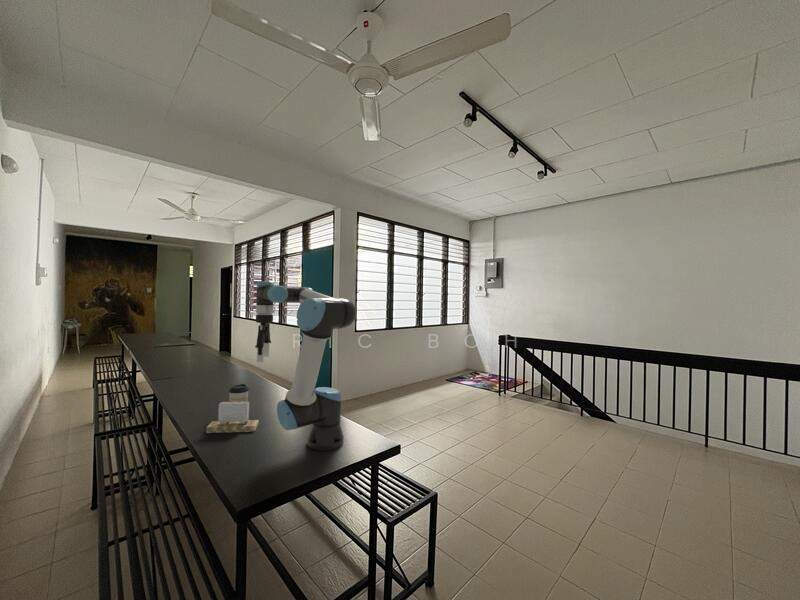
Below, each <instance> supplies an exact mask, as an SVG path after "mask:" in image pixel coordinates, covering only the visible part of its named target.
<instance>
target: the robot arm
mask: <svg viewBox="0 0 800 600" xmlns="http://www.w3.org/2000/svg"><path fill="white" fill-rule="evenodd" d="M255 303H256V305H255V307H254V309H255V313H256V315H255V323H257V324H260V325H258V330H257V338H256V345H255V348H256V350H257V351H256V363H264V360H265V358H266V357H270V344H271V343H272V340H271V331H270V329H271V328H270V327H271V326H270V325H271V323H273V322H274V315H273V314H274V306H275V305H274V303H276V304H281V303H290V304H291V303H294V304H295V303H298V304H300V305H299V307H298V309H297V311H296V325H297V326H298V328H299V329H300V333H301V335H303V337H302V341H301V345H300V350H299V354H298V359H297V363H296V367H295V370H294V372H295V373H294V377H293V379H292V380H293V381H292V384H291V388H290V389H289V390H287V392H286V394H285V398H284V399H280V400H279V401H278V402H277V405H276V413H277V414H276V415H277V419H278V422H279V424H280V426H281V428H282V429H284V430H286V431H291V430H297V429H300V428H304V427H306V426H309V425H312V426H311V428H310V431H309V433H308V436H307V442H306V443H307V444H306V445H307V447H308V448H310V449H312V450H315V451H320V452H326V451H333V450H336V449H339V448H340V447H342V445H343V444H344V440H345V439H344V433H343V429H342V426H341V415H342V413H341V412H342V411H341V410H342V393H341V391H340V390H339V389H337V388H332V387H327V386H321V387H316V386H317V385H316V384H317V381H318V378H319V377H318V376H319V372H320V368H321V364H322V360H323V356H324V353H325V352H324V351H325V347H326V343H327V341H328V340H330V339H331V338H332V336H333V333H334V330H338V329H339V330H340V329H345V328H347V327H349V326H351V325H352V324H354V321H355V320H356V317H357V313H358V312H357V307H356V305H355V304H354V303H353V302H352V301H351V300H349V299H346V298H342V297H332V296H329V295H326V294H323V293H320V292H317V291H315V290H314V289H313V288H311V287H306V286H285V285H279V284H278V285H277V284H276V285H275V283H274V281H263V280H262V281H261V280H260V281H258V282H257V283H256V301H255Z"/></svg>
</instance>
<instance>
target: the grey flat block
mask: <svg viewBox="0 0 800 600" xmlns="http://www.w3.org/2000/svg"><path fill="white" fill-rule="evenodd" d="M217 414H218V415H217V417H218V418H217V421H218V422H220V426H227V425H228V422H239V425H246V421H247V420H250V419H249V417H250V401H247V402H230V401H221V402H220V403H219V404H218V413H217Z"/></svg>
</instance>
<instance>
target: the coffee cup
mask: <svg viewBox="0 0 800 600" xmlns="http://www.w3.org/2000/svg"><path fill="white" fill-rule="evenodd" d="M228 392H229V397H228V399H229V401H228V402H248V401H249V400H248V399H249V387H248V386H247V385H246V384H244V383H241V384H235V385H232V386H231V388H229V391H228Z"/></svg>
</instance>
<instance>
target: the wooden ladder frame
mask: <svg viewBox="0 0 800 600" xmlns="http://www.w3.org/2000/svg"><path fill="white" fill-rule="evenodd" d="M259 423H260V421H259V419H252V420H251V419H248V420H247V421H246V425H239V422H228V425H227V426H220V422H218V420H212V421H211V422H210V423H209V424H208V425H207V426H206V434H214V433H216V434H217V433H249V432H250V433H252V432H255V431H256V430H257V428H258V427H259Z"/></svg>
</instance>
